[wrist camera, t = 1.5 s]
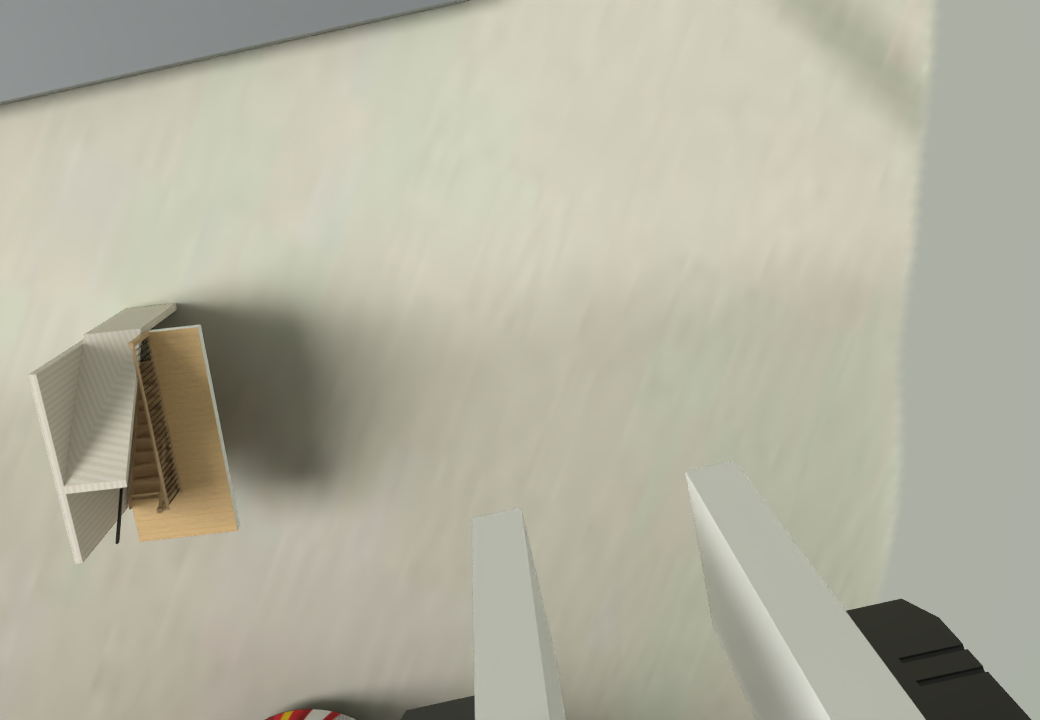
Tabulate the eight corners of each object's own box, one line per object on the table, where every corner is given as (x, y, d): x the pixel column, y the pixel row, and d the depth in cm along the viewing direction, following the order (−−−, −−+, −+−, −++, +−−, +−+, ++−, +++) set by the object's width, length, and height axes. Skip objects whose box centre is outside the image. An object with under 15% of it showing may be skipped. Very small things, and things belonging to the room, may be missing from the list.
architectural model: (225, 295, 32) (157, 352, 25) (261, 484, 34) (207, 588, 27) (123, 306, 32) (26, 367, 25) (164, 495, 34) (84, 603, 27)
